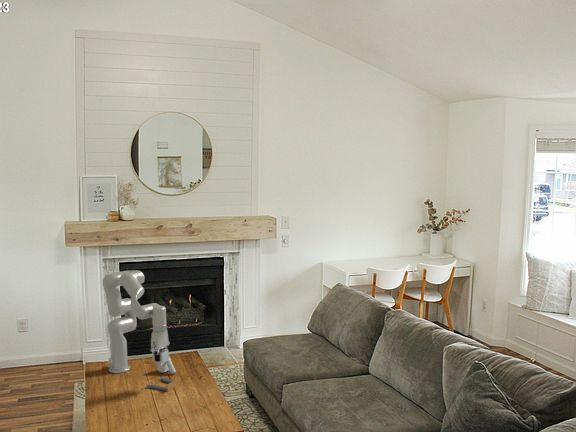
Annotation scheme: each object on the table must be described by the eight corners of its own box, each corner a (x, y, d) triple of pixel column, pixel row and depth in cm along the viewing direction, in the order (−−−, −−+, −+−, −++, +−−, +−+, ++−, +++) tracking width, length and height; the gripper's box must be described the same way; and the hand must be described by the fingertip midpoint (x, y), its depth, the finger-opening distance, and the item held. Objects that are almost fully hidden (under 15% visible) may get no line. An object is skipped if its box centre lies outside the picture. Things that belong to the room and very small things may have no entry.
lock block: (152, 361, 319) (152, 349, 318) (159, 358, 324) (158, 346, 323) (162, 363, 316) (162, 351, 315) (168, 360, 320) (168, 348, 320)
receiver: (145, 387, 319) (145, 382, 319) (161, 379, 332) (161, 373, 331) (166, 392, 313) (166, 386, 312) (182, 383, 325) (182, 377, 325)
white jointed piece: (170, 376, 335) (167, 359, 335) (159, 376, 341) (156, 359, 341) (180, 371, 341) (177, 355, 341) (169, 372, 347) (166, 355, 348)
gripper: (164, 323, 327) (165, 353, 329) (144, 331, 312) (145, 363, 314) (174, 324, 324) (175, 355, 325) (154, 333, 308) (155, 365, 310)
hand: (160, 359), depth 320 cm, fingers closed on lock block, 5 cm apart
